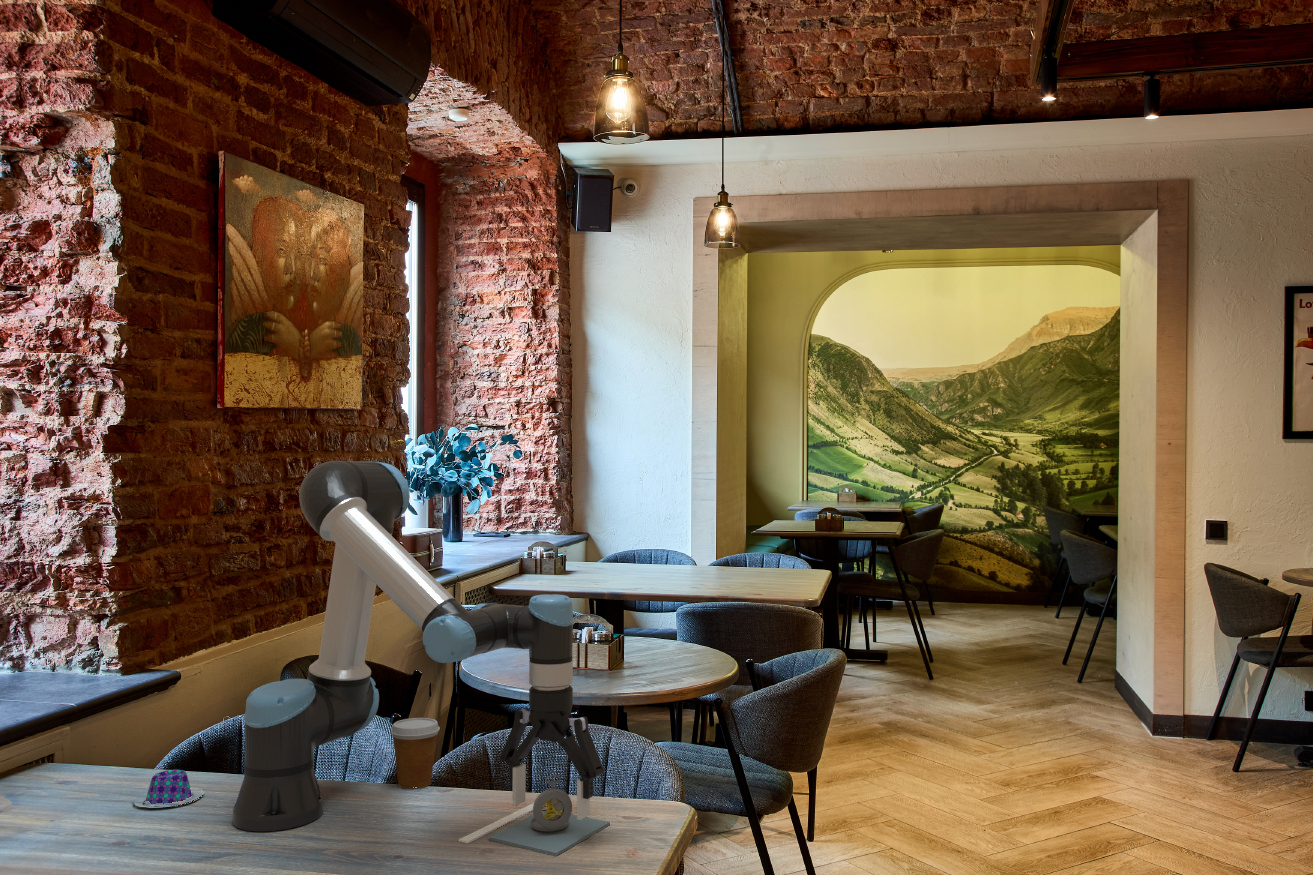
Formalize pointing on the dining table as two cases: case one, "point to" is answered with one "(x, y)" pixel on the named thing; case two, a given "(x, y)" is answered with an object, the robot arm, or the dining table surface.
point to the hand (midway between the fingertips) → (550, 810)
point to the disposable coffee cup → (415, 751)
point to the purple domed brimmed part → (169, 787)
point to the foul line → (495, 825)
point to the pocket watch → (557, 803)
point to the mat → (549, 835)
